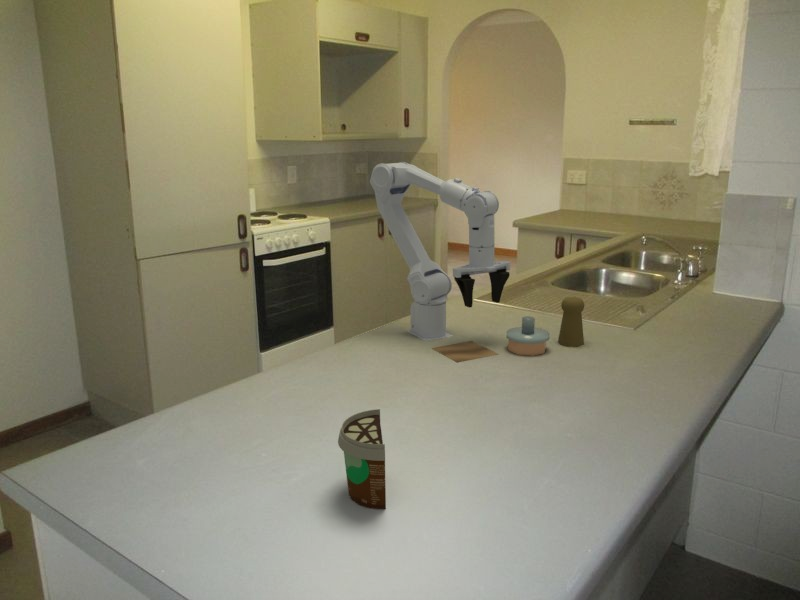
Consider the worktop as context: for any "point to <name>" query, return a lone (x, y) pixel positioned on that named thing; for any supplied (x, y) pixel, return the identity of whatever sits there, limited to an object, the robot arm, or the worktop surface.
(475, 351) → the board
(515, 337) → the lid
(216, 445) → the worktop surface
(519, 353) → the pot
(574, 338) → the cork
